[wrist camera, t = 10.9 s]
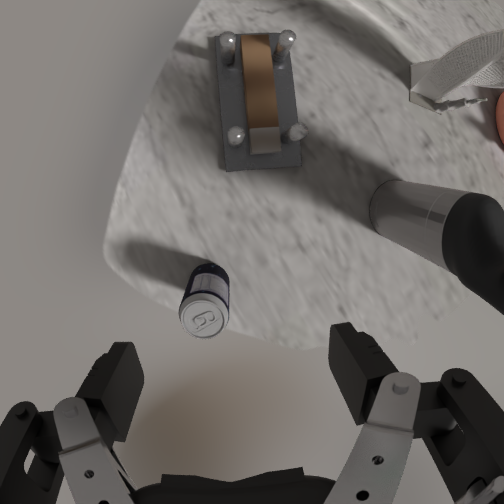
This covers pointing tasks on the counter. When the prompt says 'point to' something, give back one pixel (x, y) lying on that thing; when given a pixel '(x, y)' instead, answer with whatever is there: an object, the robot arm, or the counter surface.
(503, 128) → the teapot
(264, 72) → the brown wooden bar
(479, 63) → the skyscraper
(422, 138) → the counter surface
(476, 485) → the robot arm
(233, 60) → the peg rack
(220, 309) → the beverage can
